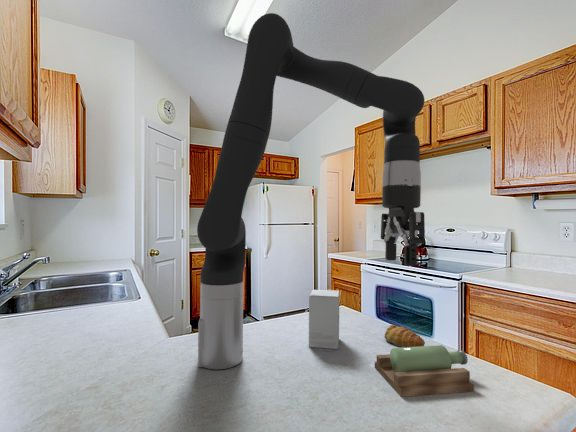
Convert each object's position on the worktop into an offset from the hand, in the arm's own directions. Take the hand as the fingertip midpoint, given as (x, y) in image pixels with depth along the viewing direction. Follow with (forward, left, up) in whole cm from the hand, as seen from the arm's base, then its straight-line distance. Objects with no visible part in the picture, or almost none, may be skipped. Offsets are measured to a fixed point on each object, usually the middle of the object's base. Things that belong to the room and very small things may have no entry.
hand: (400, 262), depth 64 cm
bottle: (+4, -4, -21) cm, 21 cm away
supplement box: (-12, +16, -22) cm, 30 cm away
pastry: (+8, +14, -22) cm, 28 cm away
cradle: (+2, -4, -22) cm, 22 cm away
